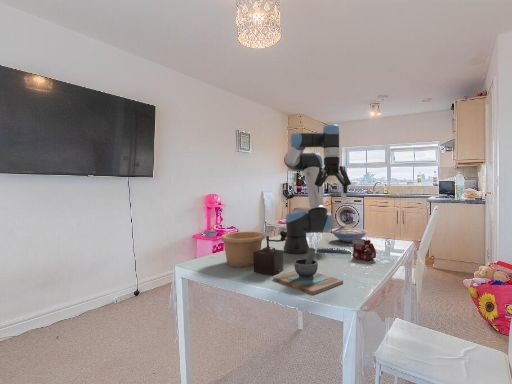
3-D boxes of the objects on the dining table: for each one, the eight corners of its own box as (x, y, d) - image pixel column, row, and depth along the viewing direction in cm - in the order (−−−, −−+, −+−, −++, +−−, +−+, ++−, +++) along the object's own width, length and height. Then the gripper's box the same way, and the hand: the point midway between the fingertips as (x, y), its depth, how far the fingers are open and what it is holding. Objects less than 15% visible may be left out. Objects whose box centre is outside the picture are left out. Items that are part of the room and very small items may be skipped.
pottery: (217, 260, 161) (216, 233, 160) (256, 255, 168) (255, 230, 168) (227, 271, 140) (226, 241, 140) (271, 265, 148) (270, 236, 147)
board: (273, 279, 127) (273, 276, 127) (302, 271, 138) (302, 268, 138) (313, 294, 110) (313, 290, 110) (343, 283, 121) (343, 279, 121)
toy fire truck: (372, 262, 150) (371, 241, 149) (349, 258, 159) (349, 238, 159) (378, 259, 154) (378, 239, 154) (356, 255, 164) (356, 236, 163)
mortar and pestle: (309, 284, 117) (308, 253, 116) (289, 279, 123) (289, 250, 123) (324, 276, 125) (323, 248, 124) (305, 272, 131) (304, 245, 131)
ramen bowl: (361, 246, 184) (361, 233, 184) (326, 243, 197) (325, 230, 196) (371, 239, 205) (371, 227, 205) (338, 236, 217) (337, 225, 217)
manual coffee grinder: (273, 276, 132) (272, 235, 131) (252, 272, 138) (252, 233, 137) (290, 267, 144) (289, 230, 144) (270, 264, 151) (270, 228, 150)
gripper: (307, 158, 156) (307, 199, 156) (348, 154, 136) (349, 201, 137) (316, 158, 160) (317, 198, 161) (358, 155, 141) (358, 200, 141)
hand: (332, 199), depth 149 cm, fingers open, 13 cm apart
